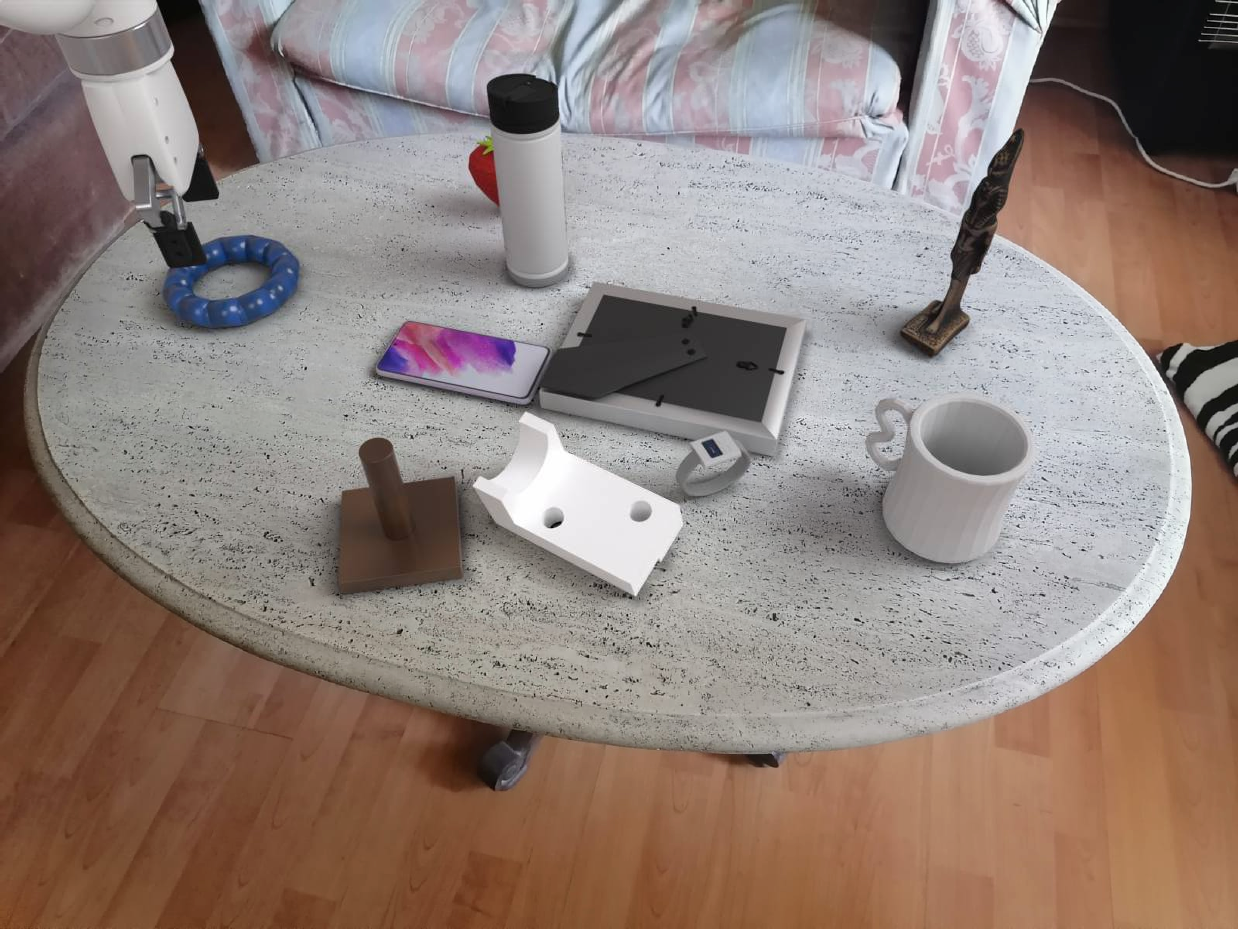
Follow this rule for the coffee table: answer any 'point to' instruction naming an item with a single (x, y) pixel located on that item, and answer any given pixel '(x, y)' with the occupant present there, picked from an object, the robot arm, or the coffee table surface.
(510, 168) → the travel mug
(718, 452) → the wristwatch
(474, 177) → the strawberry
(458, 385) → the smartphone
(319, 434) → the coffee table surface
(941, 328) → the statue
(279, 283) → the blue spotted ring
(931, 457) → the mug
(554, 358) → the picture frame
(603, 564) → the bracket
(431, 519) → the peg stand
